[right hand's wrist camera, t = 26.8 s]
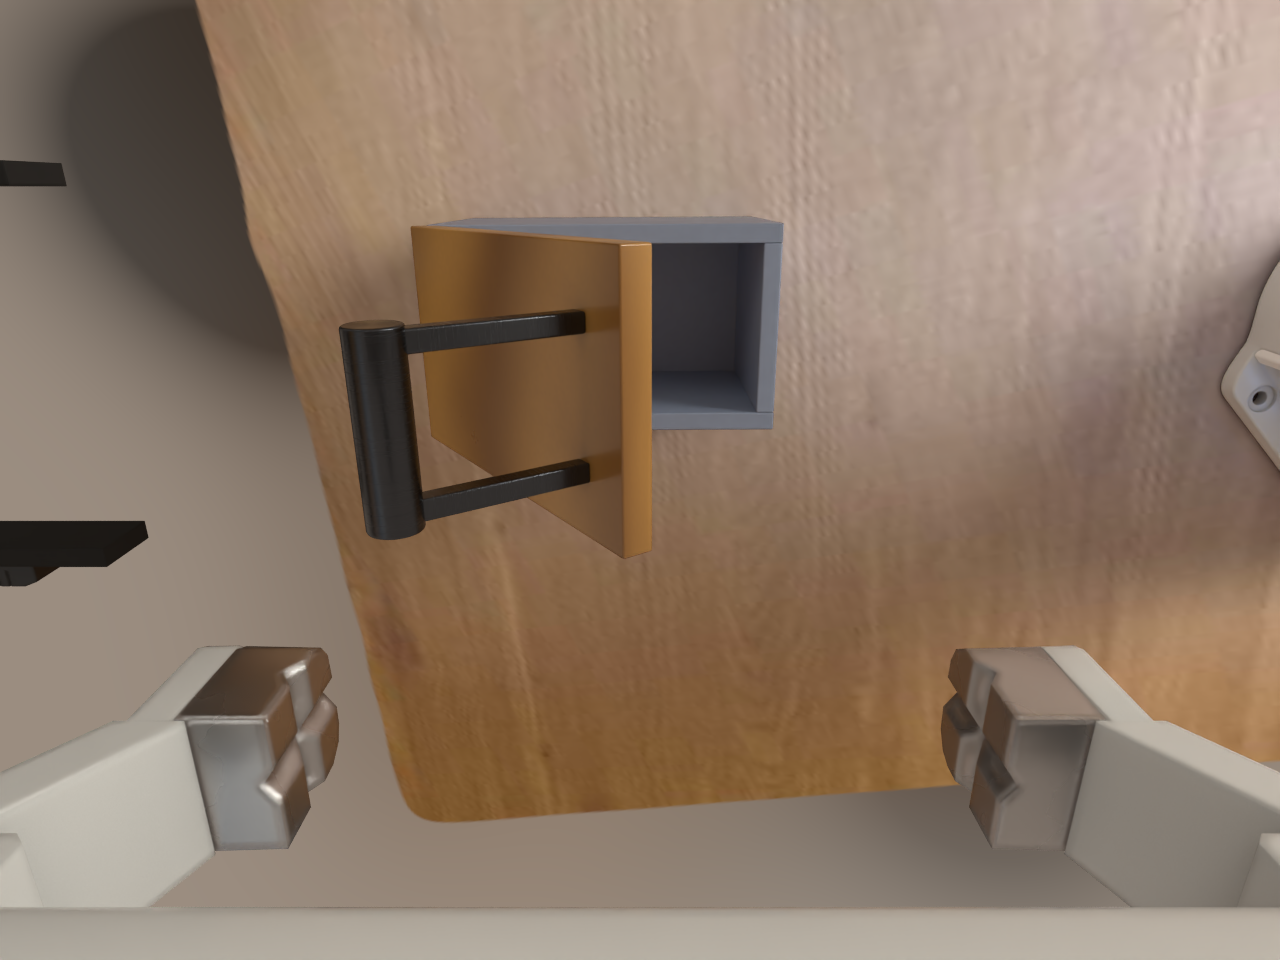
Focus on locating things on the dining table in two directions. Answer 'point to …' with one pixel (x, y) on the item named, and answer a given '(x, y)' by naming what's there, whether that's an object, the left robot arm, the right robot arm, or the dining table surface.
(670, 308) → the chest
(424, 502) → the door
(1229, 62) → the dining table surface
